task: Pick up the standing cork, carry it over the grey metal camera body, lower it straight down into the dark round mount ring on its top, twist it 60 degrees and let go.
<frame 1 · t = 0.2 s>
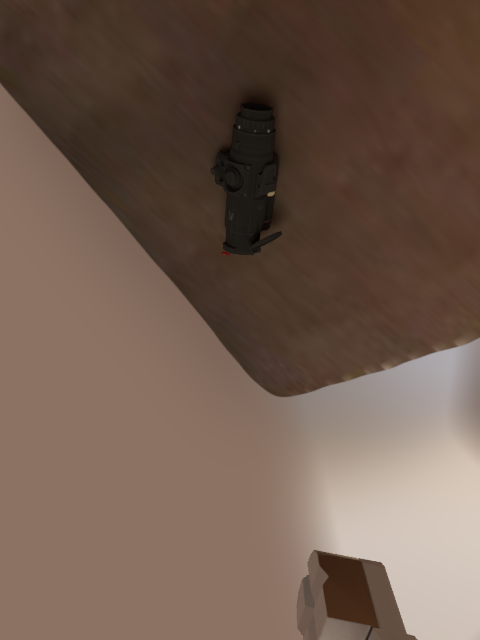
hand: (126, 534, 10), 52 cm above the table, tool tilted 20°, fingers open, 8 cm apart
night vision scope: (251, 175, 57), on the table
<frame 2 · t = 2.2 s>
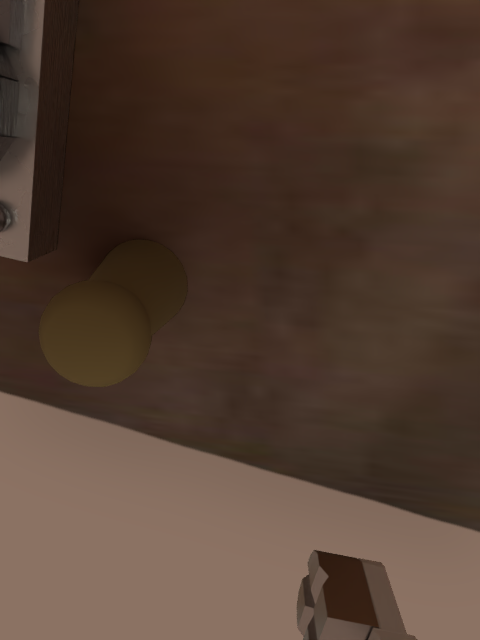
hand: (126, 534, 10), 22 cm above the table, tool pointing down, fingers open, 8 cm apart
cork: (144, 283, 30), on the table
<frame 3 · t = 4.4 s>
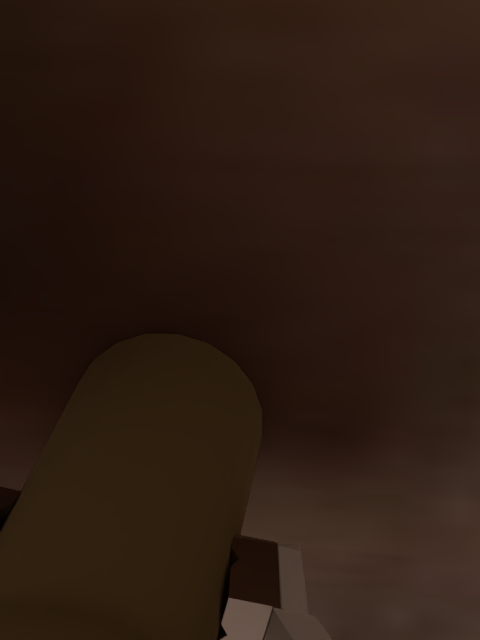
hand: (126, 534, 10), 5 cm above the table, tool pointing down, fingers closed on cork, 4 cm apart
cork: (168, 419, 14), on the table, touching gripper
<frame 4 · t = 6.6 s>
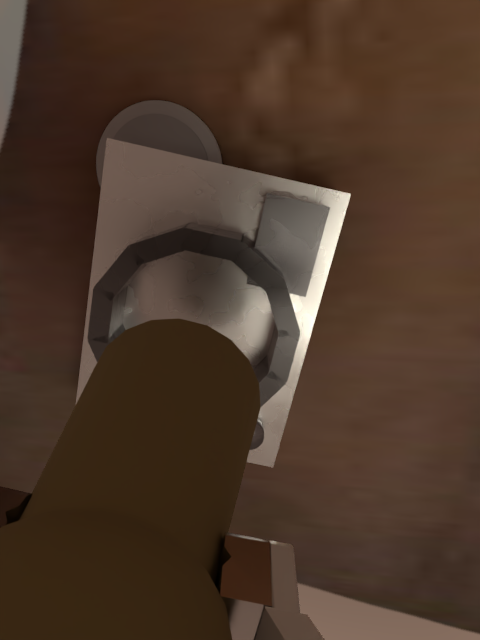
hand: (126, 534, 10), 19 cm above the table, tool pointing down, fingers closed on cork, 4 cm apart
cork: (176, 396, 16), point 12 cm above the table, touching gripper
lens cap: (161, 170, 25), on the table
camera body: (207, 300, 28), on the table
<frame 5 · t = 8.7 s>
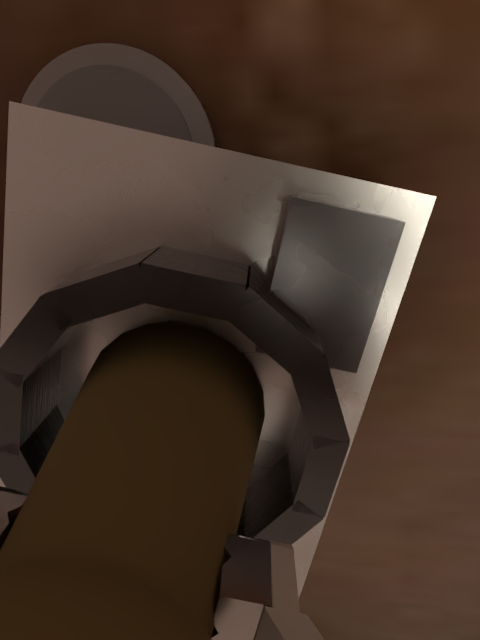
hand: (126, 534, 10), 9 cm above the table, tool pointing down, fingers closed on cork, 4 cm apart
cork: (175, 404, 15), point 4 cm above the table, touching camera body, gripper
lens cap: (120, 158, 16), on the table
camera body: (195, 354, 19), on the table
when the fingers open (10 cm above the table, at t = 9.5 s): cork stays where it is, resting on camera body.
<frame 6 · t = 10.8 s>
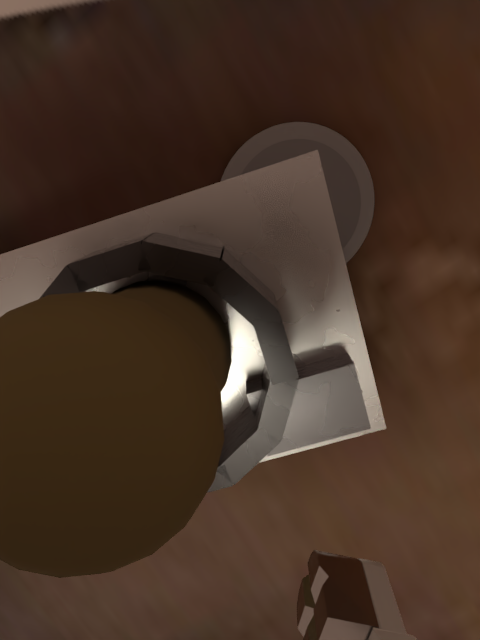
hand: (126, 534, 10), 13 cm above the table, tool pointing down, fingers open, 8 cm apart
cork: (156, 354, 18), point 5 cm above the table, touching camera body
lens cap: (293, 206, 21), on the table
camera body: (180, 327, 22), on the table
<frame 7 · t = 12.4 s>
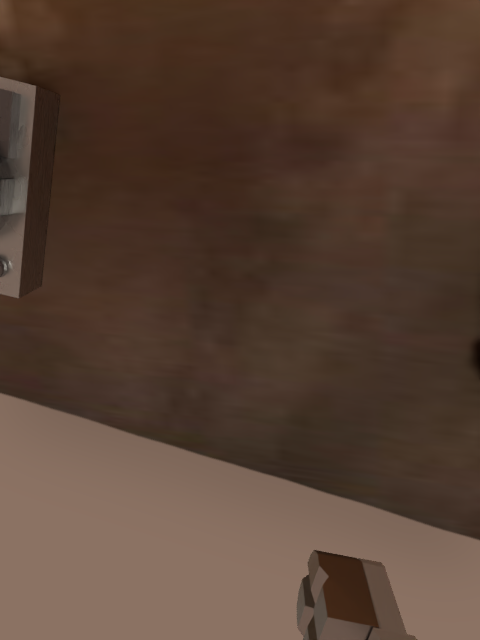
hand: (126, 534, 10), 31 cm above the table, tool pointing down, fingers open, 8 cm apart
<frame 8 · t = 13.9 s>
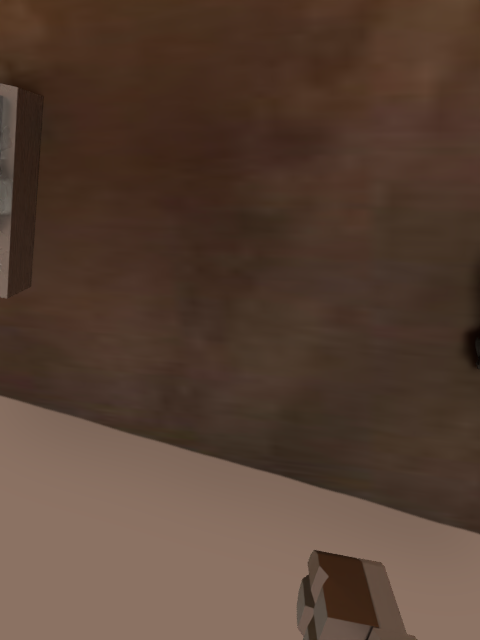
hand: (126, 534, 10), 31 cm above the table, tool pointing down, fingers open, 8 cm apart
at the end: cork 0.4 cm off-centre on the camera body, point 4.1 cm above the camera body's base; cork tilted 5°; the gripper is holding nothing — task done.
